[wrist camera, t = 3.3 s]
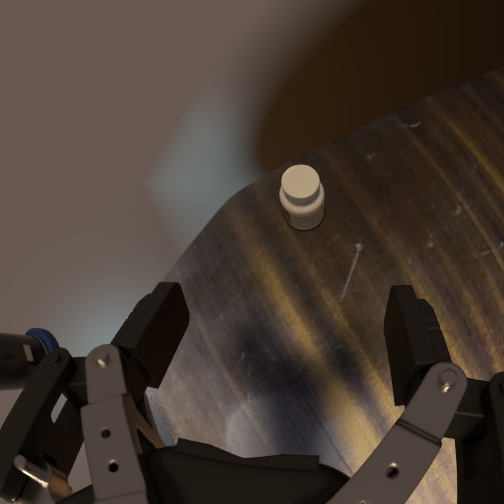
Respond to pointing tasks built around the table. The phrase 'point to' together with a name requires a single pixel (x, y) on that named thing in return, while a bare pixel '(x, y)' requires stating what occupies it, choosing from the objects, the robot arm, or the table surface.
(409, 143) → the table surface
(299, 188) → the pill bottle
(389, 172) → the table surface
